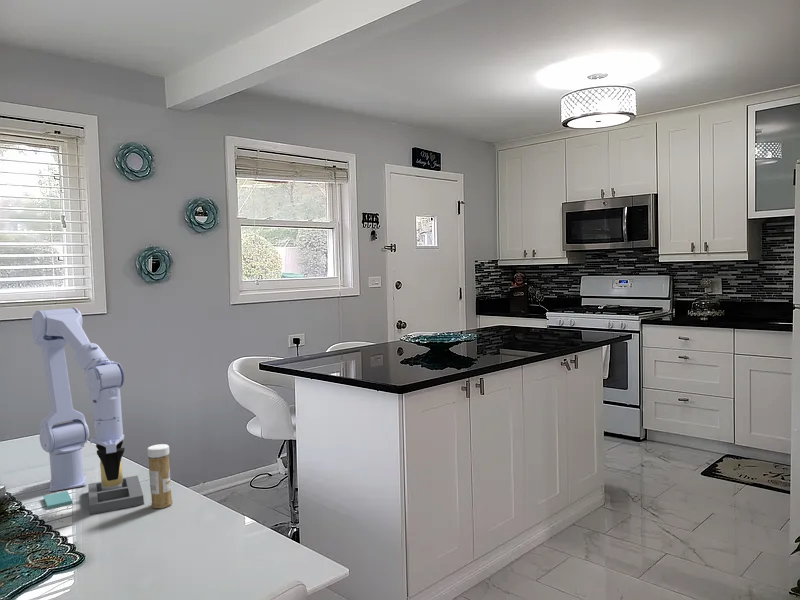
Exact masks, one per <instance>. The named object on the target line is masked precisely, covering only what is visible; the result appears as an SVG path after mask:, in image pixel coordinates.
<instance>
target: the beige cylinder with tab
mask: <svg viewBox="0 0 800 600" xmlns="http://www.w3.org/2000/svg"><path fill="white" fill-rule="evenodd" d="M99 460H100V463H99V467H100V482H101V481H102V486H104V487H110V486H116V485H119V484H121V483H122V482H123V478H124V477H123V476H124V475H123V466H122V465H123V463H122V460H121V461H120V468H119V476H118V479H116V480H110V481H108V480H107V478H106V474H105V470H104V466H103V464H102V461H101V459H100V458H99Z"/></svg>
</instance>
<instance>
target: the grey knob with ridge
mask: <svg viewBox="0 0 800 600" xmlns="http://www.w3.org/2000/svg"><path fill="white" fill-rule="evenodd" d="M100 482H101V485H102V481H101V480H100ZM117 488H123V487H122V483H121V484H119V485H116V486H110V487H104V486H102V491H106V490H112V489H117Z"/></svg>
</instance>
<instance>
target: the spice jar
mask: <svg viewBox="0 0 800 600" xmlns="http://www.w3.org/2000/svg"><path fill="white" fill-rule="evenodd" d="M146 451H147V453H146V454H147V458H148V464H149V465H148V468H149V470H148V474H149V487H150V494H151V496H150V497H151V503H150V504H151V508H153V509H165V508H167V507H169V506H171V505H172V504H173V497H172V482H171V481H172V480H171V479H172V478H171V469H170V457H169V456H170V445H168V444H165V443H160V444H154V445H151V446H148V447H147V449H146Z"/></svg>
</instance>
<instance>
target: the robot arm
mask: <svg viewBox="0 0 800 600" xmlns="http://www.w3.org/2000/svg"><path fill="white" fill-rule="evenodd" d="M30 322H31V324H30V325H31V330H32V331H31V332H32V338H33V342H34V345H37V346H38V347H40V349H41V354H42V359H43V367H44V373H45V374H44V375H45V381H46V387H47V395H48V400H49V407H50V412H49V413H48V414H47V415H46V416H45V417H43V419H42V420H41V421H40V422H39V443H40V446H41V449H42V450H43V451H44V452H46V453H48V454H49V464H50V467H49V468H50V483H49V489H48V491H49V492H56V491H62V490H69V489H73V488H81V487H86V486H87V475H86V473H85V472H84V459H83V448H85V445H86V444H87V442H88V440H89V443H90V444H95V446H96V447H95V448H96V449H97V450H96V454H97V456H98V458H99V460H100V459H101V461H102V464H103V466H104V470H105V474H106V478H107V480H108V481H110V480H116V479H118V476H119V468H120V461H121V462H122V457H123V455H124V453H125V447H122V446H123V443H124V440H125V434H124V428H123V415H122V414H123V412H122V398H121V388H122V387H123V386H124V384H125V371H124V368H123V366H122V364H121V363H119V362H118V361H117V362H116V361H114V360H110V359H109V358H108V357H107V355H106V353H105V352H104V351H103V350H102V348H101V347H100V345H98V344H97V343H95V342H91V341H90V339H89V338H88V335H87V334H86V332H85V330H84V328H83V315H82V312H81V311H80V310H79V309H78V308H77V307H70V308H69V307H68V308H58V309H46V310H41V309H38V310H35V312H34V313H33V314H32V319H31V321H30ZM67 343H68V345H70V347H71V348H72V349H73V350H74V351H75V353H74V359H75V361H76V363H77V364H78V365H79V367H80V369H82V371H83V372H84V374H85V375H86V376H85V377H86V378H85V382H86V385H87V386H86V387H87V388H88V391H89V397H90V398H89V399H90V400H92V406H93V423H94V434H95V435H94V437H91V438H89V437H90V430H89V425H88V424H87V421H86V417H85V414H84V413H82V412H80V411H78V410H76V409H74V405H73V400H72V399H73V397H72V392H71V391H72V390H71V386H70V385H71V384H70V379H69V372H68V364H67V359H66V357H67V356H66V351H65V346H66V345H67Z"/></svg>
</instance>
